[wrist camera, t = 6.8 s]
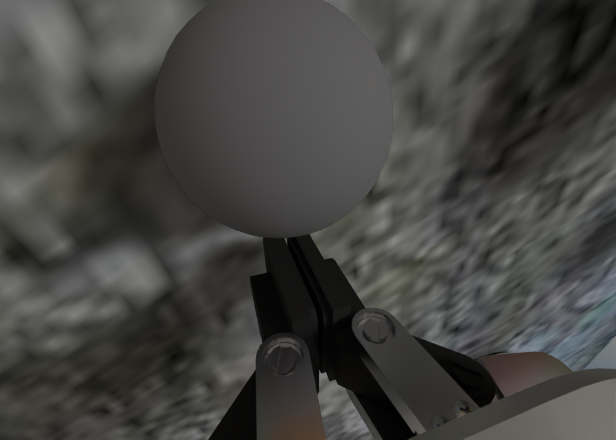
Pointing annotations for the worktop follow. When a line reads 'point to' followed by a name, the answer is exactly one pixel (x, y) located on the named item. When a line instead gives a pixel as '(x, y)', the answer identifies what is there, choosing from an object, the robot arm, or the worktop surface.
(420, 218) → the worktop surface
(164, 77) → the grey ball
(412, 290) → the worktop surface
